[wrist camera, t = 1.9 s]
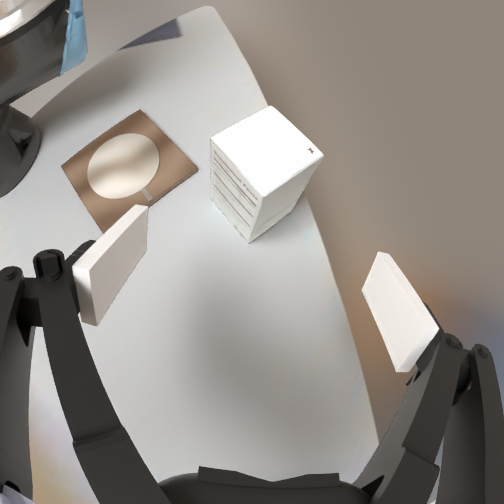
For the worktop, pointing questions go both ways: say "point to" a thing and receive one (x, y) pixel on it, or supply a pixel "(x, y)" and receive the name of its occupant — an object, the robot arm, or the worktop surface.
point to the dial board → (126, 169)
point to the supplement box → (260, 171)
